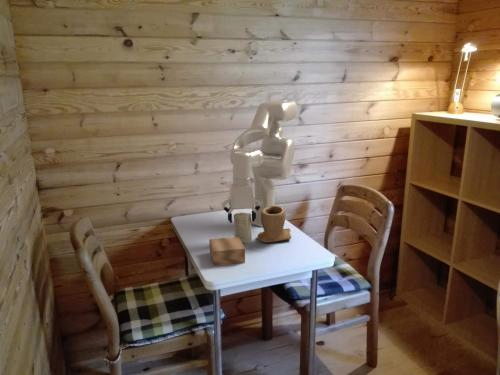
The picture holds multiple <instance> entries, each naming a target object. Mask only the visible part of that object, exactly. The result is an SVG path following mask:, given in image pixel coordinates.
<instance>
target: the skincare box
mask: <svg viewBox="0 0 500 375" xmlns="http://www.w3.org/2000/svg"><path fill="white" fill-rule="evenodd" d="M251 220H252V212H251V213H249V212H242V211H241V212H240V211H237V212H236V213H235V214H233V221H234V222H233V223H234V224H233V225H234V237H240V239H241V242H242V244H249V243H250V242H251V241H252V239H253V237H252V235H253V234H252V222H251Z"/></svg>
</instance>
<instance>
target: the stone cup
mask: <svg viewBox="0 0 500 375" xmlns="http://www.w3.org/2000/svg"><path fill="white" fill-rule="evenodd" d="M286 215H287V214H286V211H285V208H283V207H282V206H280V205H275V206H270V207H266V208H264V209H263V210H262V212H261V223H262V226H263V227H262V229H263V231H260V232H258V234H257V238H258V240H259V241H260V242H263V243H274V242H275V243H276V242H281V241H288V240H290V239H292V234H291V229H290V228H284V227H285V226H284V225H285V222H286V217H287V216H286Z"/></svg>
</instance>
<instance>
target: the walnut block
mask: <svg viewBox="0 0 500 375" xmlns="http://www.w3.org/2000/svg"><path fill="white" fill-rule="evenodd" d="M208 242H209V254H211V255H210V258H211V261H212V265H213V266H214V267H215V266H224V265H234V264H244V263H246V248H245V245H244V243H242V242H241V239H240V237H235V236H234V237H233V236H231V237H221V238H211V239H209V241H208Z"/></svg>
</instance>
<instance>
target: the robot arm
mask: <svg viewBox="0 0 500 375" xmlns="http://www.w3.org/2000/svg"><path fill="white" fill-rule="evenodd" d="M298 111H299V110H298V105H297V103H296V102H295V101H293V100H267V101H265V102H262V103H260V104H259V105H258V107H257V110H256V113H255V114H254V117H253V119H252V122H251V126H250V127H249V128H247V129H246V130H245V131H243V132H242V133H241V134H240V135H239V136H238V137H236V139H235V140H234V143H233V144H232V147H231V151H230V152H229V160H230V163H231V164H232V184H230V189H229V196H228V197H229V198H227V199H226V200H224V201H222V202H221V204H220V205H221V207H222V208H223V210H224V211H225V212H226V213H227V220H228V222H229V223H230V224H232V223H233V213H232V212H233V211H234V210H248V209H249V210H250V209H251V225H254V226H257V227H262V228H263V226H262V223H261V212H262V210H263V209H264V208H266V207H270V206H276V205H275V195H276V194H275V193H276V191H275V190H276V189H275V188H276V187H275V184H274V182H273V181H272V180H280V181H281V180H282V181H283V180H286V179H288V177H289V175H290V172H291V168H292V164H293V159H294V155H295V147H296V146H295V143H294V140H293V139H291V138H288V137H287V138H286V137H283V134H284V130H283V127H282V125H281V124H280V122H284V123H285V122H290V121H292V120H294V119H295V118H296V117H297V115H298ZM261 140H262V141H261ZM258 141H261V145H260V150H259V149H256V148H255V149H254V148H246V147H247V146H248V145H250V144H252V143H255V142H258ZM252 174H253V175H252ZM252 176H253V178H252ZM252 183H254V184H252ZM228 204H229V207H227V206H226V205H228Z"/></svg>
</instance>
